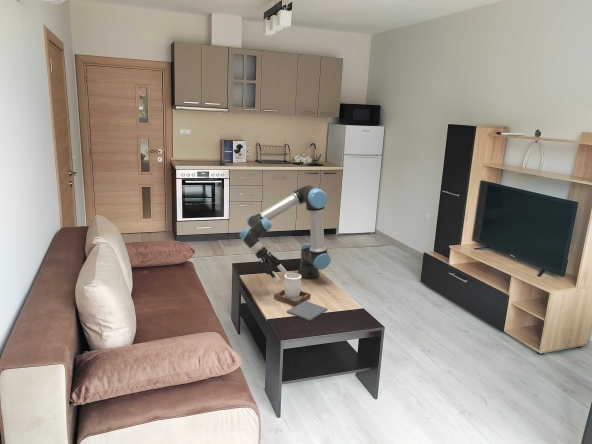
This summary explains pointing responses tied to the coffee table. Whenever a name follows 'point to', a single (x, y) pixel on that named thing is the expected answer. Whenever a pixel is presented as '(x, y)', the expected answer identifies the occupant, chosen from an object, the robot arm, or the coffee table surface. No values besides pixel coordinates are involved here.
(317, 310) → the board
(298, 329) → the coffee table surface
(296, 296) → the jar
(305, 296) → the collar
